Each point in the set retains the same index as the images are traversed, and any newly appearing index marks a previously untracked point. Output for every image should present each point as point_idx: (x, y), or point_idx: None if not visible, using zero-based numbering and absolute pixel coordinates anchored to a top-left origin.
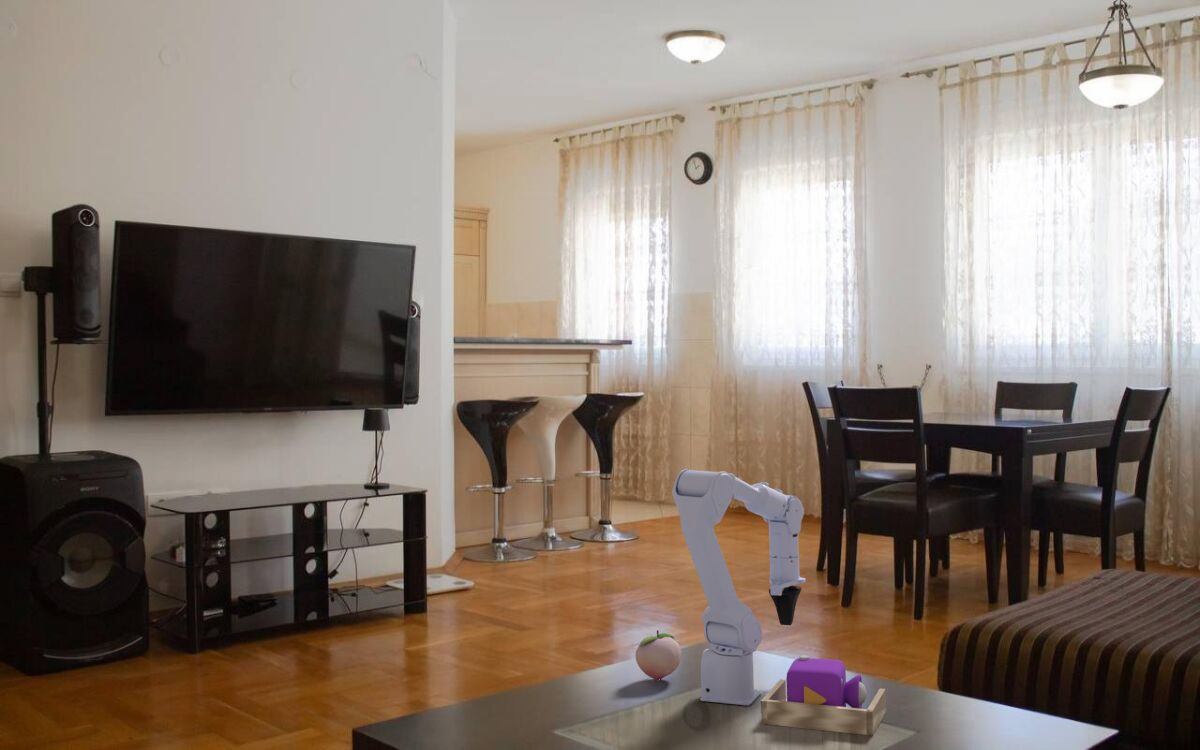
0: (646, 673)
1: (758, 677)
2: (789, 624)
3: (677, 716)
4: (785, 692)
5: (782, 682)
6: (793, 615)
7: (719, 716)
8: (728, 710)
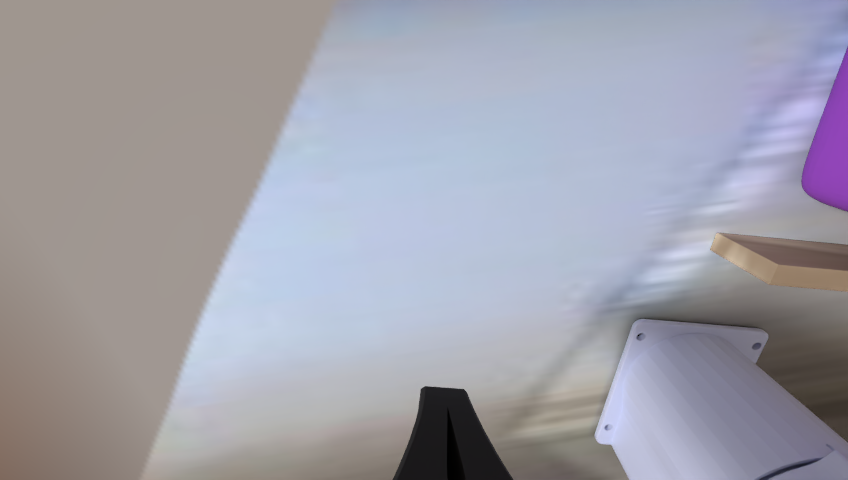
0: None
1: (455, 349)
2: (468, 398)
3: None
4: (747, 246)
5: (814, 270)
6: (433, 422)
7: (838, 382)
8: (787, 371)
